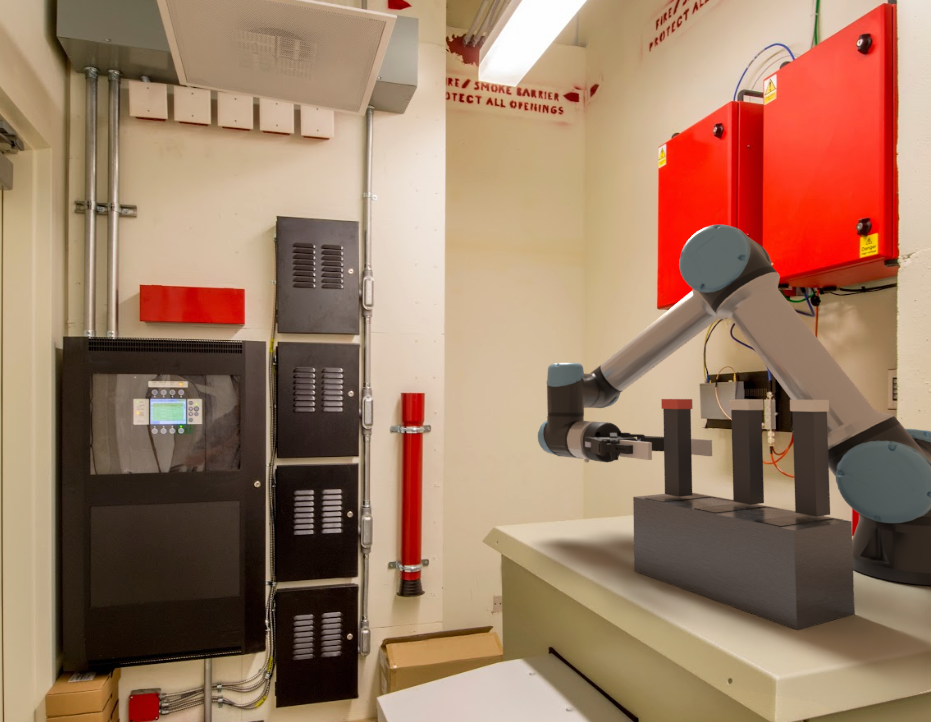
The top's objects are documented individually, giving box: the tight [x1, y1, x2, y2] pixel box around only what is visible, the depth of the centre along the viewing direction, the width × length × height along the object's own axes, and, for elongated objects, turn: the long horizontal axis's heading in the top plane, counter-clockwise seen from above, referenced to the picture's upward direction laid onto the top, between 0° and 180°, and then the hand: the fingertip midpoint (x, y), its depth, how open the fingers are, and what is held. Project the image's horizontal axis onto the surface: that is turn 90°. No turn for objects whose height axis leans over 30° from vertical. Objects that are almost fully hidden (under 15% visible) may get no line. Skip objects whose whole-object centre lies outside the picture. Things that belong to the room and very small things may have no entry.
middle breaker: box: [728, 398, 765, 505], centre depth 92 cm, size 3×3×16 cm
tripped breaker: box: [660, 398, 693, 497], centre depth 99 cm, size 3×3×16 cm
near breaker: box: [789, 399, 831, 517], centre depth 83 cm, size 3×3×16 cm
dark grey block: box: [632, 492, 856, 631], centre depth 89 cm, size 28×12×12 cm, turn 28°
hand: (681, 449), depth 98 cm, fingers open, 13 cm apart
